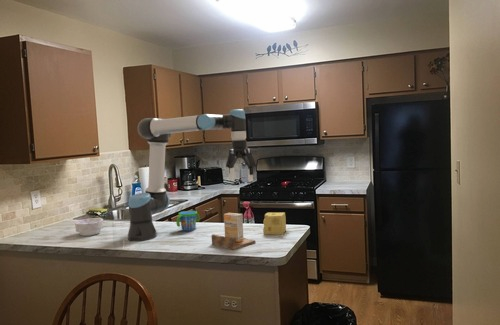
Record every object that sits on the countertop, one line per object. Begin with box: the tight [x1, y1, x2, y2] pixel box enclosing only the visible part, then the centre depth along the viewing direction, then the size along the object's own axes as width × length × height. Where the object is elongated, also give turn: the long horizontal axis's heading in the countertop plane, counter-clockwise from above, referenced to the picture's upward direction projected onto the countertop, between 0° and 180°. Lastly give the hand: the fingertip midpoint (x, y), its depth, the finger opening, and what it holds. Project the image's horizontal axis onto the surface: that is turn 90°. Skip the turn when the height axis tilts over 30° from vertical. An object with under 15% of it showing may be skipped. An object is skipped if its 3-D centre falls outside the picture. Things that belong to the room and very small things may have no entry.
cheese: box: [262, 212, 287, 236], centre depth 211 cm, size 10×11×10 cm
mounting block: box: [211, 233, 256, 251], centre depth 193 cm, size 16×14×5 cm
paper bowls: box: [74, 217, 105, 237], centre depth 232 cm, size 15×15×8 cm
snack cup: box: [175, 210, 201, 232], centre depth 228 cm, size 16×10×10 cm
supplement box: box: [223, 212, 245, 242], centre depth 193 cm, size 8×5×13 cm, turn 56°
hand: (241, 180), depth 206 cm, fingers open, 13 cm apart
